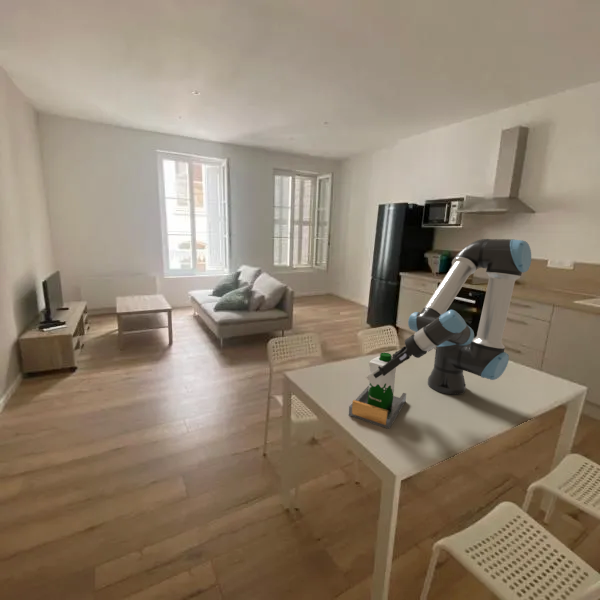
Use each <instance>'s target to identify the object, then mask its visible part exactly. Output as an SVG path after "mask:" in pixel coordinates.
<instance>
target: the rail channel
mask: <svg viewBox="0 0 600 600" xmlns="http://www.w3.org/2000/svg"><path fill="white" fill-rule="evenodd" d="M368 389H369V385H367V387H366V388H365V389H364V390H363V391H362V392H361V393H360V394H359V395H358V396H357V398H355V399H353V400H352V403H350V405H349V406H348V416H349V417H353V418H355V419H358V420H362V421H363V422H364V421H365V422H367V423H370V424H373V425H376V426H380V427H382V428H385V429H388V430H390V428H391V427H392V425H393V423H394V422H395V420H396V418H397V417H398V415H399V413H400V412H401V410H402V408H403V407H404V405H405V403H406V400H407V393H406V392H403V393H401V395H400V397H399V396H397V395H393V402H392V406H390V407H389V408H388V409H387V410H385V409H382V408H379V407H376V406H372V405H369V404H367V401H368Z"/></svg>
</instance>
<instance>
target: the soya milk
mask: <svg viewBox="0 0 600 600" xmlns="http://www.w3.org/2000/svg"><path fill="white" fill-rule="evenodd" d="M391 356H392V354H391V353H389V352H381V353H380V354H379V355H378V356H376V357H374V358H372V359H371V360H370V361H368V364H369V374H368V375H370V374H371V373H373V372H374V371H376V370H377V369H379V368H378V367H379V366H380V367H383V366H384V365H385V364H386V363H388V362H389V361H390V360H392V359H391ZM396 369H397V367H395V368H394V369H393V370H391V371H390V372H389V373H387V374H386V375H385V376H382V377H380V378H378V379H377V380H375V381H374V382H372V383H370V382H369V381H368V386H369V389H368V401H367V404H369V405H372V406H376V407H379V408H382V409H385V410H387V409H388V408H389V407H390V406H392V402H393V396H394V391H395V381H396Z"/></svg>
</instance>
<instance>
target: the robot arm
mask: <svg viewBox="0 0 600 600" xmlns="http://www.w3.org/2000/svg"><path fill="white" fill-rule="evenodd" d="M531 263H532V250H531V247H530V244H529V243H528V241H525V240H524V239H523V240H522V239H514V238H513V239H511V238H510V239H509V238H503V239H501V238H495V239H494V238H493V239H492V238H481V239H478V240H475V241H473V242H471V243H469V244H467V245H466V246H464V247H463V248H462V249H461V250H460V251H459V252H457V254H456V255H455V256H454V258H452V261H451V266H450V268H449V270H448V272H447V273H446V274H445V276H444V277H443V279H442V280H441V282H440V283H439V285H438V286H437V288H436V289H435V291H434V292H433V294H432V295H431V296H430V298H429V300H428V301H427V302H426V304H425V305H424V306H423V308H422V310H421V311H420V312H419V311H418V312H417V311H414V312H413V313H412V312H411V314H410V315H409V317H408V320H407V326H408V328H409V330H411V331H413V332H414V334H412V335H410V336H409V337H407V338H406V339H405V340H404V346H402V347H401V348H400V349H399V350H397V351H395V353H393V354H391V359H392V360H390V361H389V362H388V363H386V364H385V365H384V366H383V367H380V366H379V367H378V368H379V369H377V370H376V371H374V372H373V373H371V374H370V373H369V374H370V375H369V374H368V375H367V376H366V377H365V378H366V379H367V380H368V383H369V382H370V383H372V382H374V381H375V380H377V379H378V378H380V377H382V376H385V375H386V374H387V373H389V372H390V371H391V370H393V369H394V368H395V367H396V368H397V367H398V366H399V365H401V364H403V363H404V362H405V361H408V360H409V359H410V358H411V357H412V356H413V357H414V358H416V359H419V358H422V357H423V356H424V355H426V354H427V353H428V352H431V351H432V350H433V349H434V351H435V353H434V362H433V363H434V364H433V369H432V370H431V372H430V374H429V376H428V379H427V385H428V387H429V388H431V389H432V390H434V391H437V392H439V393H440V394H441V393H442V394H445V395H453V396H455V395H462V394H464V393H465V392H466V389H467V388H466V387H467V386H466V382H465V381H466V380H465V377H464V371H465V372H468V373H470V374H473V375H476V376H477V377H481V378H482V379H488V380H490V381H495V380H498V379H499V378H501V377H502V375H503V374H504V372H505V370H506V369H507V367H508V364H509V360H510V357H509V353H507V352H506V351H505V349H506V346H505V345H504V344H503V342H502V340H503V336H504V331H505V328H506V323H507V319H508V314H509V310H510V307H511V306H510V305H511V300H512V297H513V291H514V287H515V284H516V283H515V282H516V281H517V280H519V279H520V278H521V277H522V273H526V272H528V271H529V270H530V267H531ZM478 269H486V271H485V274H486V275H487V276H488V280H487V281H488V282H487V285H486V286H487V287H486V292H485V296H484V301H483V306H482V309H481V315H480V320H479V323H478V328H477V332H476V336H475V333H474V329H472V327H470V326H469V325H468V324H467V323H466V321H465V319H464V318H463V316H461V315H460V313H458V311H456V310H454V309H449V308H450V307H451V305H452V303H453V302H454V300H455V298H456V297H457V295H458V294H459V292H460V291H461V289H462V287H463V286H464V284H466V281H467V280H468V278H469V276H471V275H473V274H475V273H476V271H477V270H478ZM448 309H449V310H448Z"/></svg>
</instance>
